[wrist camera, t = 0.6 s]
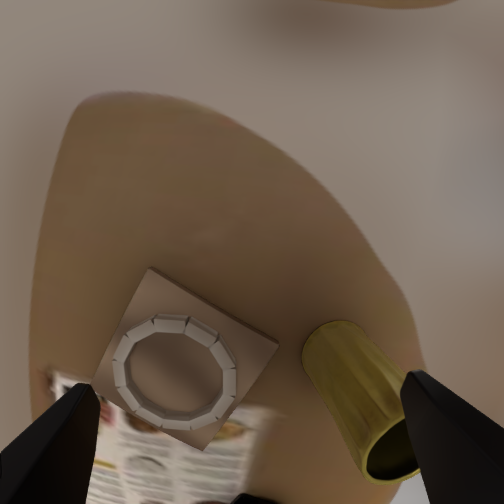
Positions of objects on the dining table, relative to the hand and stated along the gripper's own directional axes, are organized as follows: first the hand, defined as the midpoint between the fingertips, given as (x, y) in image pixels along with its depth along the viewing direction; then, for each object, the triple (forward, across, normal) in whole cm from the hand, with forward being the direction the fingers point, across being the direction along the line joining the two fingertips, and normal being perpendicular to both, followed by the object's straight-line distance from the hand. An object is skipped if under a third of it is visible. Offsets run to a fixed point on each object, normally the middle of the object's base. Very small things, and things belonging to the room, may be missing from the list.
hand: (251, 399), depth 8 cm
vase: (+14, -8, +12) cm, 21 cm away
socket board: (+14, +6, +13) cm, 20 cm away
